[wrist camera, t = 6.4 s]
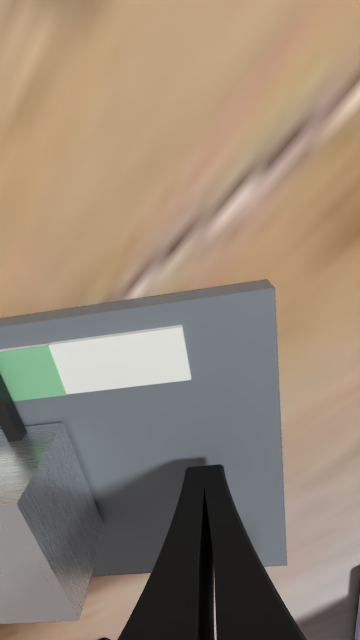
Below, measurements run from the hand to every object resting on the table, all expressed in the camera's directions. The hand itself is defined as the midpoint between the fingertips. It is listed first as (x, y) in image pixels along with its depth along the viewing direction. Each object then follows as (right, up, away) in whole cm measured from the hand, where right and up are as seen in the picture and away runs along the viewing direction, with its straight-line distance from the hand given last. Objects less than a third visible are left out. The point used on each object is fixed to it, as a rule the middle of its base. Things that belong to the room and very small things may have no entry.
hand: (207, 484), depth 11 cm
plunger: (-7, +1, +1) cm, 7 cm away
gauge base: (-6, 0, +2) cm, 6 cm away
